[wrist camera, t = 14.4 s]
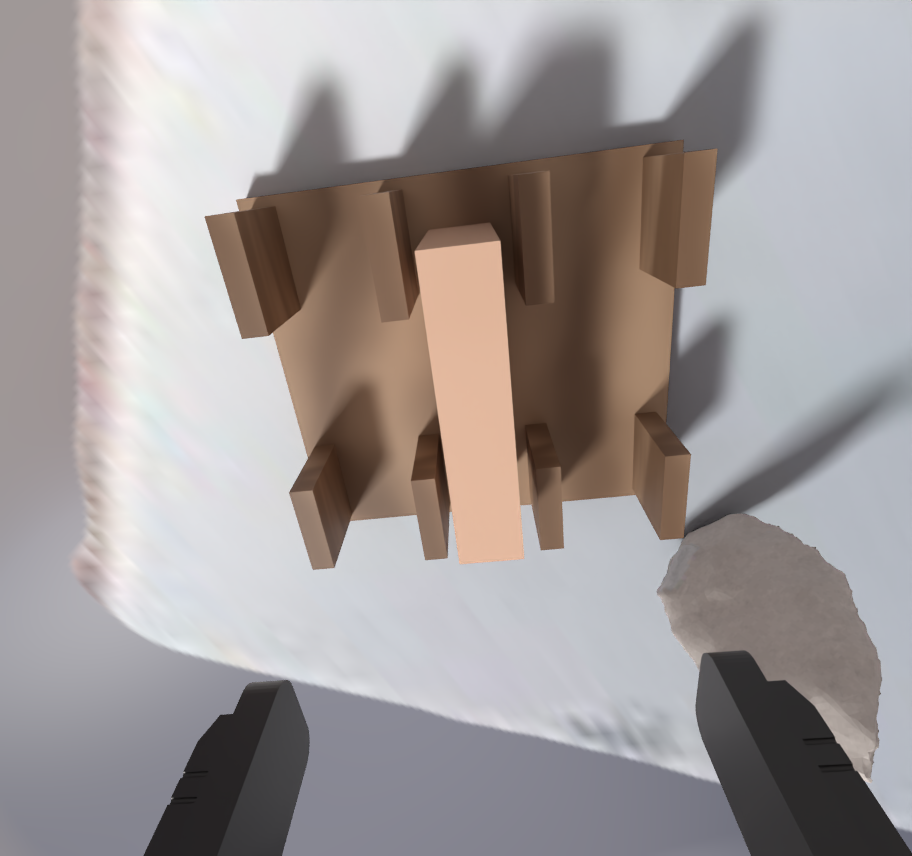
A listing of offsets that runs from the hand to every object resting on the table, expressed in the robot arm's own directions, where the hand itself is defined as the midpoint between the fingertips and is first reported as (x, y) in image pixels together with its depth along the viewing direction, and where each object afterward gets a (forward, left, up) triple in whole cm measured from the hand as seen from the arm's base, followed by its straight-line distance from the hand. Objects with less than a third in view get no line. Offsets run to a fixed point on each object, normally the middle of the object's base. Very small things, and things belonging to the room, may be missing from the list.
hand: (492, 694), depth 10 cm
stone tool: (-14, +14, -22) cm, 29 cm away
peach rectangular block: (0, 0, -20) cm, 20 cm away
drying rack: (0, 0, -21) cm, 21 cm away
